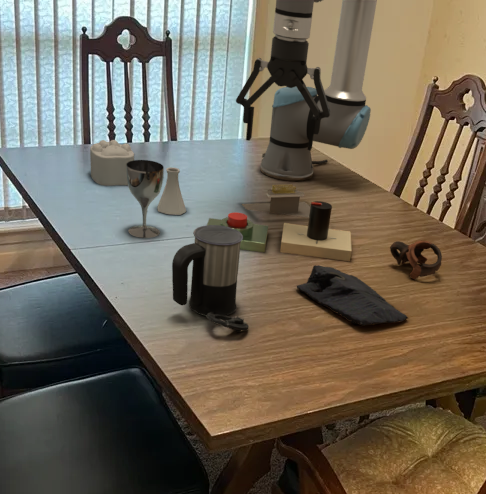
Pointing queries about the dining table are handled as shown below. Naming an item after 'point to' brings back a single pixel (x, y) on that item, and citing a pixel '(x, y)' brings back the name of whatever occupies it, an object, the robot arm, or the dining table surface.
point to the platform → (283, 202)
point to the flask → (172, 195)
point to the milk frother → (210, 274)
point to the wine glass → (144, 190)
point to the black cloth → (349, 297)
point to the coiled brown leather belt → (416, 257)
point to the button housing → (247, 234)
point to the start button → (237, 219)
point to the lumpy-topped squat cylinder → (110, 162)
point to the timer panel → (316, 243)
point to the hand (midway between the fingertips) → (279, 143)
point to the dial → (319, 220)
